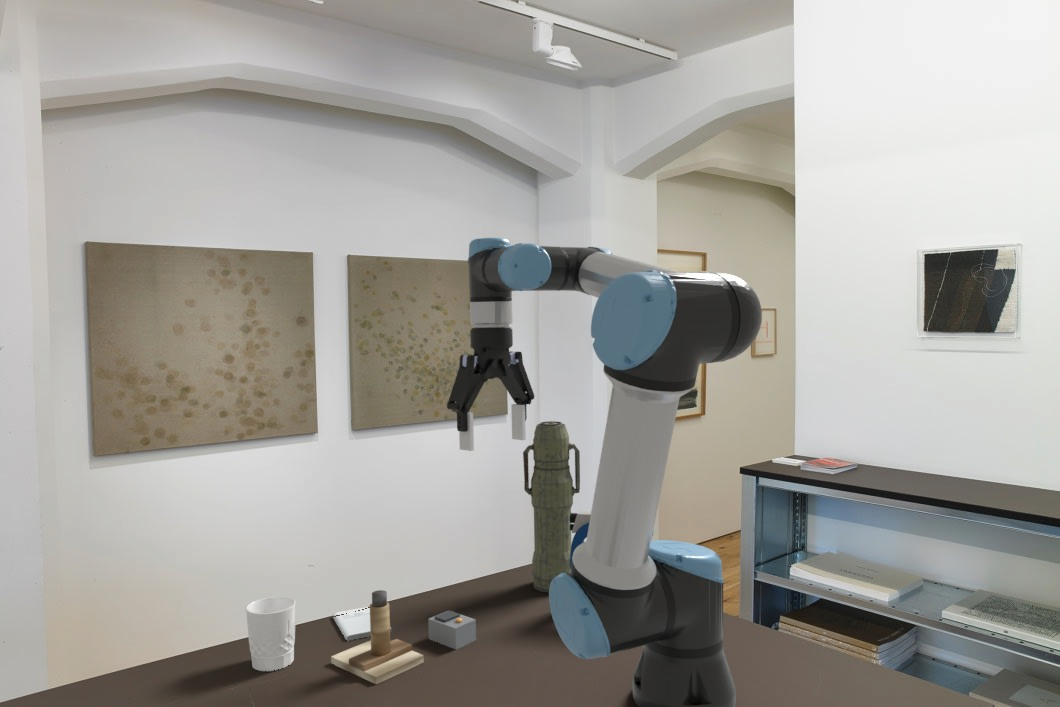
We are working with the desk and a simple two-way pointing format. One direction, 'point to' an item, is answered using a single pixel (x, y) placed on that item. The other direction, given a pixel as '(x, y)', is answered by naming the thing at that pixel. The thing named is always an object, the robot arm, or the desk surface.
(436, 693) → the desk surface
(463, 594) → the desk surface
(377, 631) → the peg
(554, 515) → the thermos
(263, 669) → the white cup
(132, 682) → the desk surface
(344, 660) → the panel
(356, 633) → the external hard drive
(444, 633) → the box
